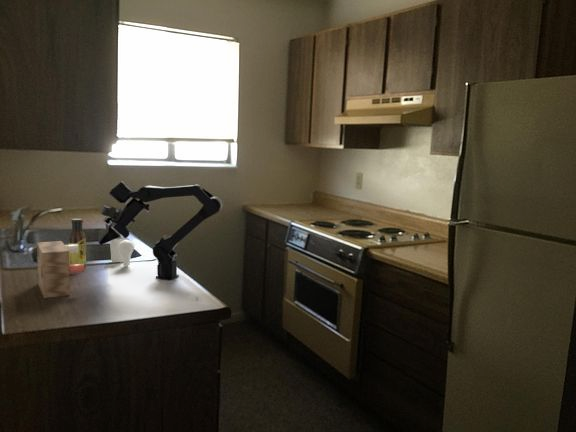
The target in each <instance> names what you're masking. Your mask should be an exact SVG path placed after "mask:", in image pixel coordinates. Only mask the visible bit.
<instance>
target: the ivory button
mask: <svg viewBox="0 0 576 432" xmlns="http://www.w3.org/2000/svg"><path fill="white" fill-rule="evenodd" d="M64 245H65V246H66V248H67V249H68V251H69V253H78V250H79V249H78V244H72V245H69V244H64Z"/></svg>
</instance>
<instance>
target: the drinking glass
mask: <svg viewBox="0 0 576 432" xmlns="http://www.w3.org/2000/svg"><path fill="white" fill-rule="evenodd" d="M120 236H121V237H119V238H116V239H114V240H111V241H109V245H110V248H109V249H110V262H111V261H112V262H111V263H115V262H120V263H123V260H122V255H121V253H120V251H119V249H118V247H119V244H120V242H122V241H123V240H127V238H124V237H123V236H122V235H120Z"/></svg>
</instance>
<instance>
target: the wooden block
mask: <svg viewBox="0 0 576 432" xmlns="http://www.w3.org/2000/svg"><path fill="white" fill-rule="evenodd" d="M65 245H66V244H64V242H63V241H62V240H55V241H40V242H39V241H36V254H37V260H36V261H37V284H38V287H39V289H40V292H41V294H42V296H43V298H44V299H45V298H46V299H47V298H55V297H56V298H57V297H64V296H70V295H71V284H70V283H71V281H70V280H71V279H70V278H71V277H70V275H71V274H69V265H70V264H69V251H68V249H67V248H66V246H65Z"/></svg>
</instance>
